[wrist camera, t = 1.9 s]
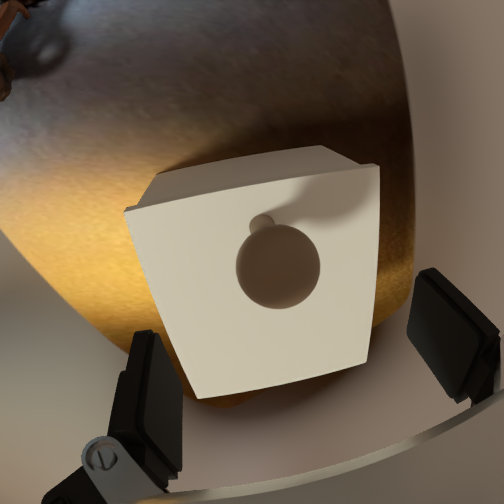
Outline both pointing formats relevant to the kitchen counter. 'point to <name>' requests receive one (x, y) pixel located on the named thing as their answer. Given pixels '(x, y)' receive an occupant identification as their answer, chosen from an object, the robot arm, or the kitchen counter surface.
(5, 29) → the broken clay pot
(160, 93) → the kitchen counter surface
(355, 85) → the kitchen counter surface
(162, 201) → the carton lid
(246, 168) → the carton
